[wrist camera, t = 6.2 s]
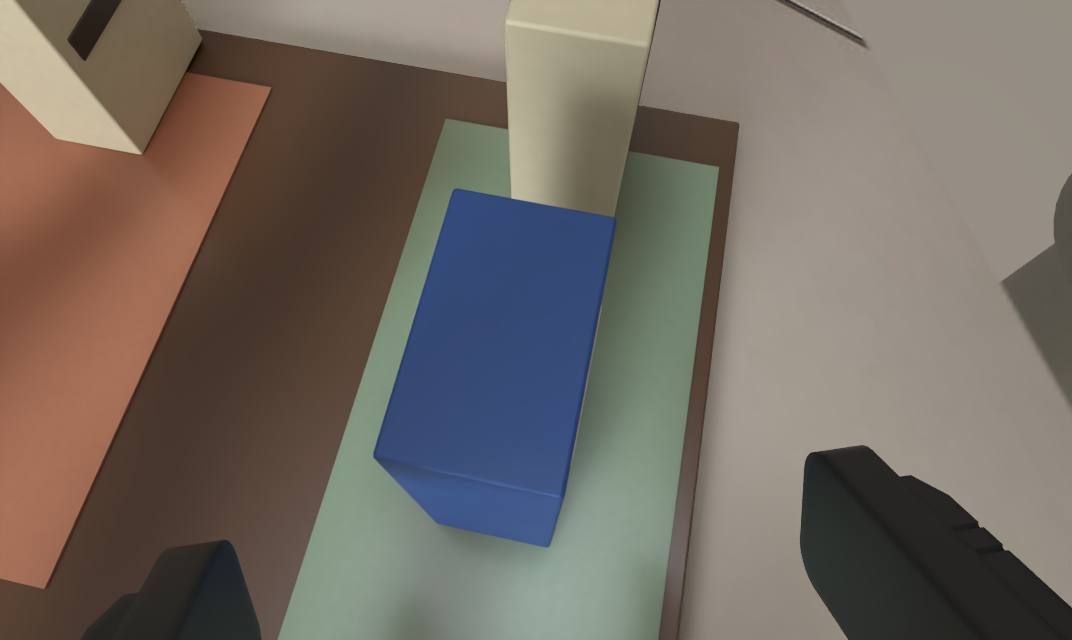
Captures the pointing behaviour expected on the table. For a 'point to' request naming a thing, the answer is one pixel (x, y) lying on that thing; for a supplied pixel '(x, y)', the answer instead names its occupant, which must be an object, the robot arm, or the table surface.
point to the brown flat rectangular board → (325, 357)
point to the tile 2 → (574, 97)
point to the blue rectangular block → (498, 365)
